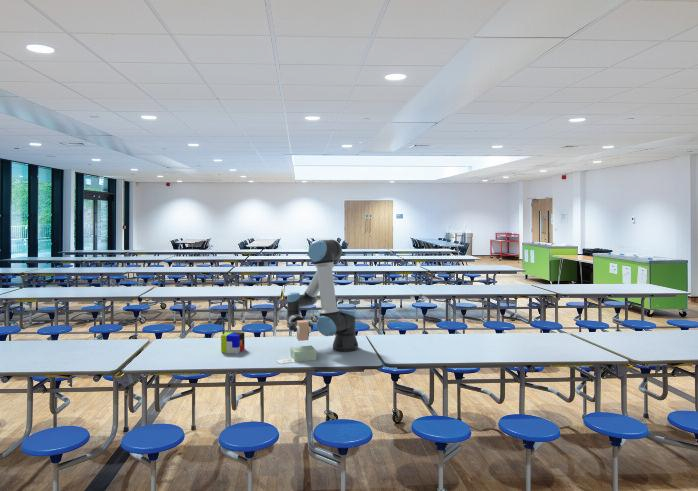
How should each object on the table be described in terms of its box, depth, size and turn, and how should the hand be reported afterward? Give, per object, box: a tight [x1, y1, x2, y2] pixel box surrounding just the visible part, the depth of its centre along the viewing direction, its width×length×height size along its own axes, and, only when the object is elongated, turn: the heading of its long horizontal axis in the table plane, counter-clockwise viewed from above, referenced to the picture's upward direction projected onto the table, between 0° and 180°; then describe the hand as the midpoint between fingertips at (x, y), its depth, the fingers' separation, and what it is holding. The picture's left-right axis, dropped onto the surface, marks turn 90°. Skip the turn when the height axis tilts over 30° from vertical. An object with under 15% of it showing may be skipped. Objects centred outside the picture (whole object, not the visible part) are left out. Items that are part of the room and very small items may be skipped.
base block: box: [290, 345, 317, 362], centre depth 283 cm, size 12×12×5 cm
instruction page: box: [275, 357, 299, 365], centre depth 277 cm, size 10×7×1 cm
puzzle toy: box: [220, 331, 246, 354], centre depth 299 cm, size 10×10×10 cm
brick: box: [296, 319, 310, 342], centre depth 283 cm, size 6×6×10 cm
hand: (304, 330), depth 278 cm, fingers closed on brick, 5 cm apart
